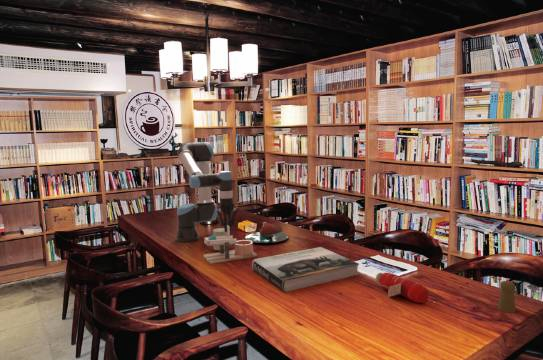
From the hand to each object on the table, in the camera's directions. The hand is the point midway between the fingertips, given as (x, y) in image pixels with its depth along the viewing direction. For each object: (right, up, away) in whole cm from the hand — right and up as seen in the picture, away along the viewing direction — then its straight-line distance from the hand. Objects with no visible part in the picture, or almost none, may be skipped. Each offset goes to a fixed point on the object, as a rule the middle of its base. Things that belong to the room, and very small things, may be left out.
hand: (228, 236), depth 235 cm
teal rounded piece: (+23, -6, +28) cm, 36 cm away
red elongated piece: (+80, -16, -64) cm, 104 cm away
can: (-6, -9, +10) cm, 14 cm away
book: (+42, -14, -35) cm, 56 cm away
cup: (+10, -9, -4) cm, 13 cm away
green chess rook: (+117, -17, -80) cm, 143 cm away
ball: (-7, +1, -13) cm, 15 cm away
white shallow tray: (-5, -2, -7) cm, 9 cm away
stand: (+2, -10, -7) cm, 12 cm away
